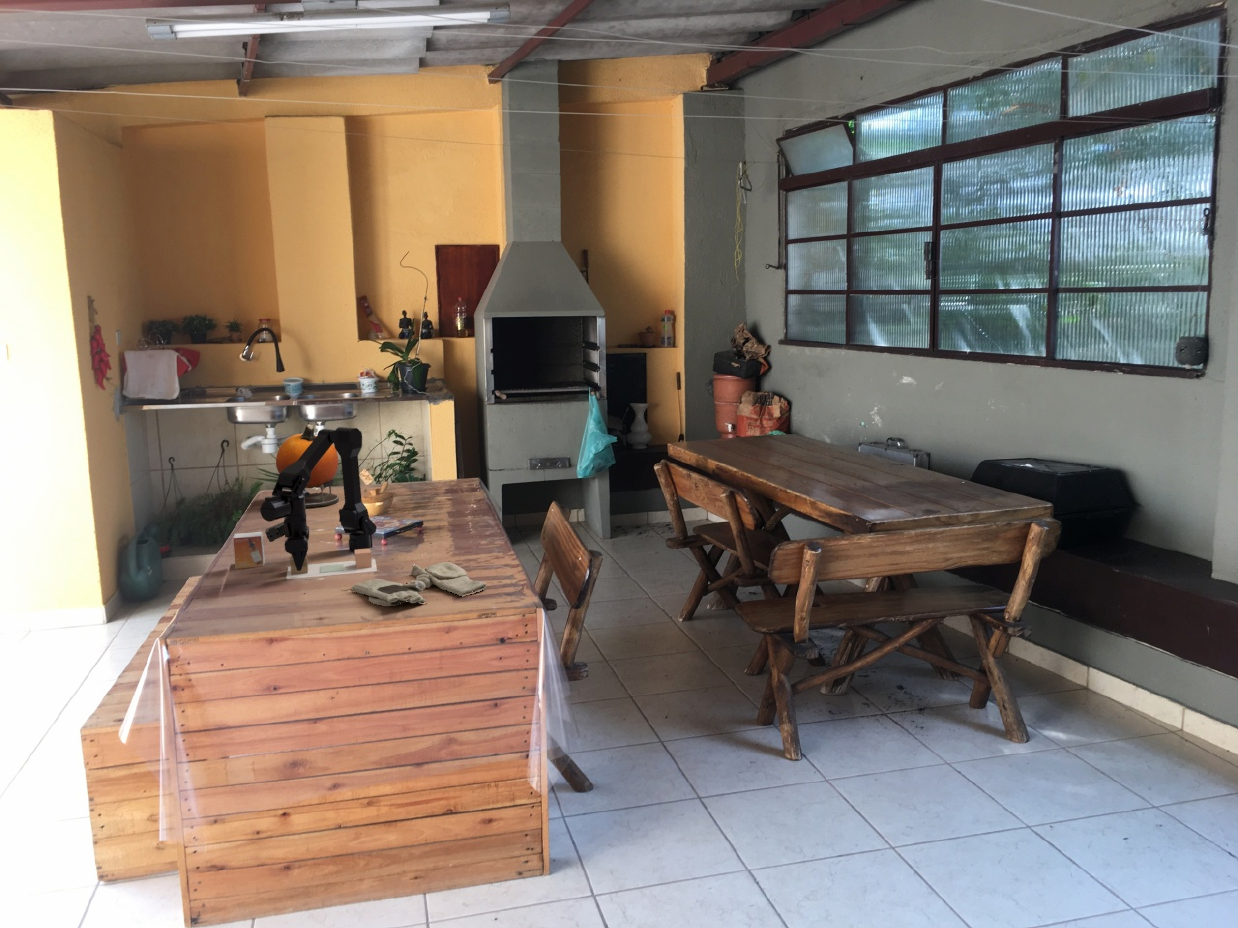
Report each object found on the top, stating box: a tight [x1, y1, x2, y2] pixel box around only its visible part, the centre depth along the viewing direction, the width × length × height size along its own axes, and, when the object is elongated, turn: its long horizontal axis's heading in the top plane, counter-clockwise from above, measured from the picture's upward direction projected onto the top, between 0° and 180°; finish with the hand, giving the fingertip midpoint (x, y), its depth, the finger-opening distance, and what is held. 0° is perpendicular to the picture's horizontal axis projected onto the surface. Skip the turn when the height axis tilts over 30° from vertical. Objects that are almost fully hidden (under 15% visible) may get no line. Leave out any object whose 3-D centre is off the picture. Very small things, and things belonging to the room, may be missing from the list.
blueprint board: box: [285, 558, 378, 580], centre depth 300 cm, size 25×13×1 cm, turn 105°
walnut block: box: [289, 553, 309, 575], centre depth 297 cm, size 4×4×4 cm
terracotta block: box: [354, 549, 372, 569], centre depth 301 cm, size 4×4×4 cm
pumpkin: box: [275, 424, 340, 509], centre depth 386 cm, size 22×22×30 cm
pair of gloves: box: [351, 561, 487, 607], centre depth 282 cm, size 30×26×5 cm
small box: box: [232, 531, 265, 570], centre depth 304 cm, size 8×6×10 cm
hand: (299, 566), depth 297 cm, fingers open, 9 cm apart
